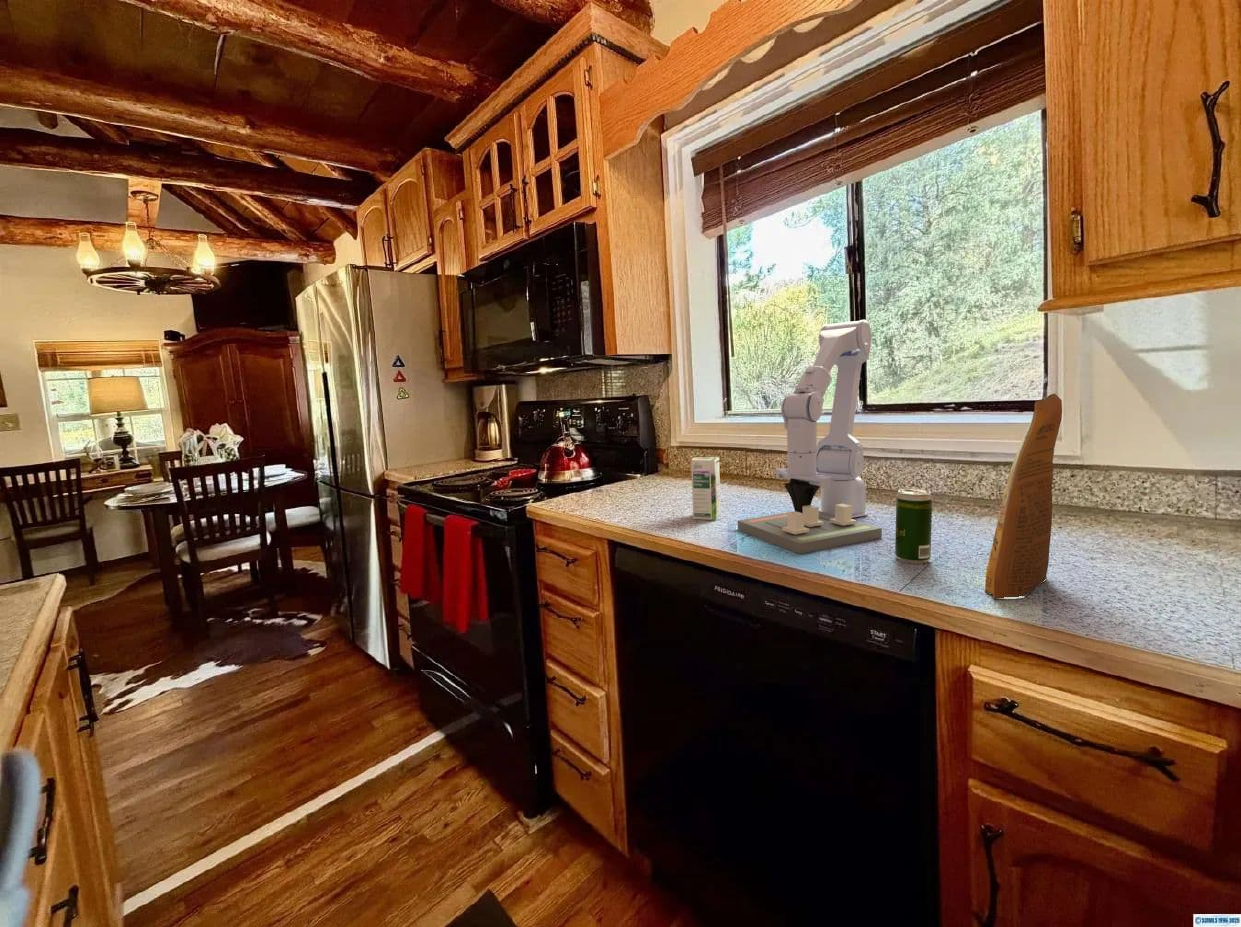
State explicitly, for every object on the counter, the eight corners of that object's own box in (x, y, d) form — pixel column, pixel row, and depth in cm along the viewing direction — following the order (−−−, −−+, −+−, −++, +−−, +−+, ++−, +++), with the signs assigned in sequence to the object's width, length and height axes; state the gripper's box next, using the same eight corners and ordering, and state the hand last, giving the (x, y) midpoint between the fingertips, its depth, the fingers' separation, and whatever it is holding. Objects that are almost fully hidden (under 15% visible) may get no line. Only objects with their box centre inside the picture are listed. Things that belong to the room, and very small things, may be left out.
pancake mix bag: (1069, 576, 82) (1082, 391, 78) (1027, 612, 71) (1040, 398, 67) (1017, 565, 88) (1026, 393, 84) (970, 598, 76) (979, 399, 72)
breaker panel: (810, 517, 125) (810, 508, 124) (881, 537, 106) (881, 527, 106) (737, 529, 117) (737, 520, 117) (800, 553, 99) (799, 543, 99)
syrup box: (692, 519, 128) (690, 459, 126) (698, 514, 133) (696, 455, 131) (716, 520, 126) (714, 459, 124) (721, 514, 131) (719, 455, 129)
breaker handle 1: (796, 527, 108) (796, 510, 107) (809, 531, 105) (809, 513, 104) (782, 530, 107) (782, 512, 106) (794, 534, 103) (794, 516, 103)
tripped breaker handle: (811, 520, 113) (811, 503, 112) (823, 524, 109) (823, 507, 109) (797, 523, 111) (797, 506, 111) (809, 527, 108) (809, 509, 107)
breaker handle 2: (843, 519, 112) (843, 502, 112) (856, 523, 109) (856, 505, 108) (829, 521, 111) (829, 504, 110) (842, 525, 108) (843, 508, 107)
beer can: (937, 561, 92) (939, 492, 90) (916, 567, 89) (918, 496, 88) (908, 553, 96) (910, 487, 95) (888, 558, 94) (889, 491, 92)
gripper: (763, 450, 116) (764, 511, 118) (810, 457, 102) (810, 526, 104) (790, 447, 118) (790, 507, 120) (839, 453, 105) (839, 521, 107)
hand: (801, 516), depth 112 cm, fingers closed
